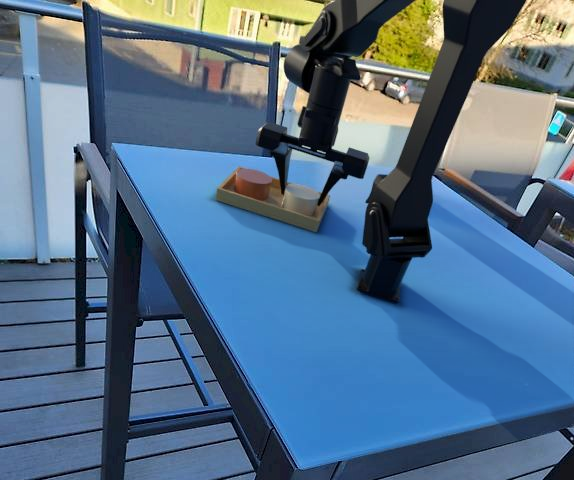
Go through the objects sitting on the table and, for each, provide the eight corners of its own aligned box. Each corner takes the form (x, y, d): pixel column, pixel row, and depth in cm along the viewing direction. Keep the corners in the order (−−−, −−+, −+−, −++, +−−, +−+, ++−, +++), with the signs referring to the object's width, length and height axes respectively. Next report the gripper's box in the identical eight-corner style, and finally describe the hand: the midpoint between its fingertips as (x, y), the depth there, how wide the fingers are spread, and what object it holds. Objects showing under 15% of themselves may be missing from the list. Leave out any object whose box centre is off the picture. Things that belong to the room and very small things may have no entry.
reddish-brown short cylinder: (264, 204, 86) (267, 187, 84) (229, 192, 86) (232, 175, 84) (272, 192, 90) (275, 176, 88) (239, 181, 90) (242, 165, 89)
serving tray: (316, 232, 83) (319, 221, 82) (215, 200, 84) (217, 188, 82) (327, 205, 93) (330, 195, 92) (236, 177, 93) (238, 166, 92)
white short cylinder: (312, 219, 86) (317, 203, 84) (278, 208, 86) (281, 191, 84) (318, 207, 90) (322, 191, 88) (285, 196, 90) (289, 180, 88)
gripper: (384, 111, 83) (355, 200, 93) (280, 78, 83) (262, 170, 93) (380, 126, 74) (348, 222, 85) (264, 89, 75) (246, 189, 85)
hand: (301, 199), depth 87 cm, fingers closed on white short cylinder, 6 cm apart
